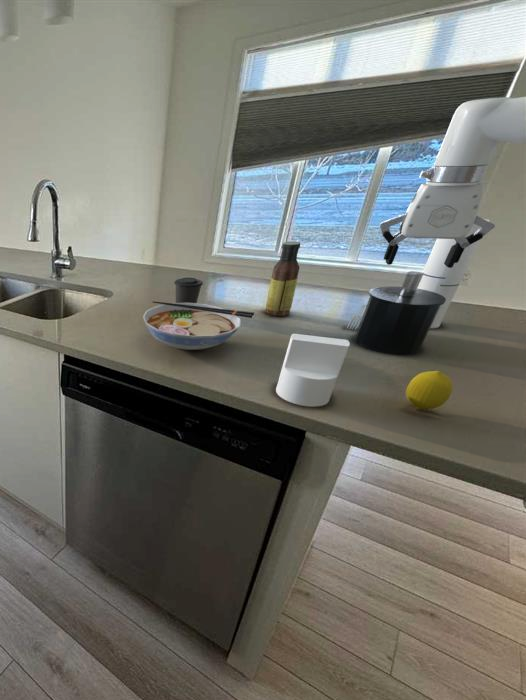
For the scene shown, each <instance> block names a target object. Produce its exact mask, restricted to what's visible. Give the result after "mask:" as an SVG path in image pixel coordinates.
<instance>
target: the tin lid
mask: <svg viewBox="0 0 526 700" xmlns="http://www.w3.org/2000/svg"><path fill="white" fill-rule="evenodd" d="M422 276H423V271H413V270H410V271H407V272H406V275H405V277H404V280H403V282H402V285H401V286H378V287H374V288H371V289H370V290H369V293H368V295H369V297H370V296H371V297H372V298H374V299H376V300H379V301H382V302H386V303H390V304H395V305H401V306H411V307H433V306H439V305H442V304H444V303H445V301H446V298H445V297H444V296H442V295H440V294H437V293H435V292H431V291H427V290H422V289H417V288H418V286H419V283H420V281H421V279H422Z"/></svg>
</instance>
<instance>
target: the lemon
mask: <svg viewBox="0 0 526 700" xmlns="http://www.w3.org/2000/svg"><path fill="white" fill-rule="evenodd" d="M452 392H453V382H452V380H451V378H450V377H449V376H447V375H446V374H444V373H442V372H441V371H440V370H434V371H433V370H430V371H429V370H428V371H424V372H421V373H418V374H416V375H415V376H414V377H413V378H412V379H411V380H410V382H409V383H408V385H407V388H406V390H405V396H406V399H407V401H408V402H409V403H410V404H411V405H412V406H413V407H415V408H416V410H420V411H422V410H433V409H436V408H439V407H441V406H443V405H444V404H445V403H446V402H447V401H448V400H449V398H450V397H451V395H452Z"/></svg>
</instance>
